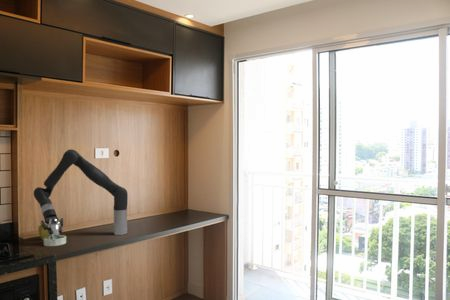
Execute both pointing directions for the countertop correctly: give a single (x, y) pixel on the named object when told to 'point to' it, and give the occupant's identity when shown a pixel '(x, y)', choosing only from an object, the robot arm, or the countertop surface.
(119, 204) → the robot arm
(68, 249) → the countertop surface
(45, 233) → the flower pot
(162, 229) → the countertop surface
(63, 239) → the bowl
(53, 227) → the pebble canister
